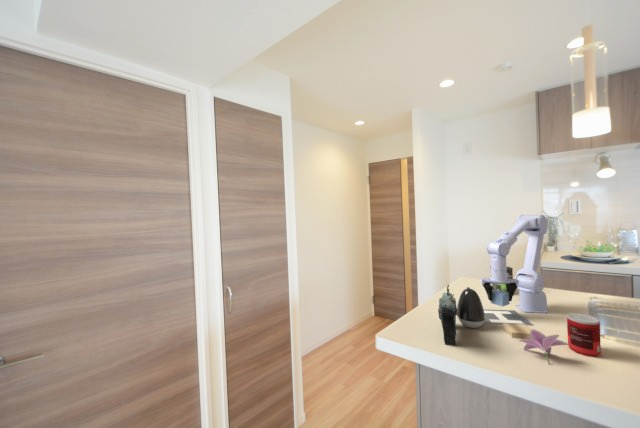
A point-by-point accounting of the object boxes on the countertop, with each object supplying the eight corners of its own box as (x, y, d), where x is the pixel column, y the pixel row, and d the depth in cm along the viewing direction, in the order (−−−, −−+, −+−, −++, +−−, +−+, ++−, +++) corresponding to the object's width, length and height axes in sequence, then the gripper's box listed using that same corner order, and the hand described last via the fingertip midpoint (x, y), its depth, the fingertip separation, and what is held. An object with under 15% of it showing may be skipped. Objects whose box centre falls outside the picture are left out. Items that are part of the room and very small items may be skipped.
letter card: (514, 310, 121) (514, 310, 121) (534, 325, 105) (534, 325, 105) (471, 309, 125) (471, 308, 125) (484, 323, 109) (484, 323, 109)
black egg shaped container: (483, 321, 111) (481, 286, 111) (487, 332, 101) (485, 293, 101) (456, 318, 115) (454, 284, 115) (457, 328, 106) (456, 291, 106)
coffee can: (517, 295, 140) (516, 269, 140) (496, 295, 141) (495, 269, 141) (507, 289, 150) (506, 265, 150) (487, 289, 152) (486, 265, 151)
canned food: (590, 346, 89) (589, 313, 89) (607, 358, 81) (606, 323, 81) (562, 343, 91) (561, 312, 91) (576, 355, 84) (575, 321, 84)
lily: (577, 366, 80) (564, 332, 85) (570, 365, 73) (557, 328, 78) (530, 364, 88) (521, 333, 93) (520, 363, 81) (510, 330, 86)
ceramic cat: (459, 349, 91) (456, 292, 90) (438, 345, 93) (436, 290, 93) (456, 325, 109) (454, 277, 108) (439, 323, 111) (437, 276, 111)
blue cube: (509, 304, 113) (509, 292, 113) (502, 306, 111) (502, 294, 111) (497, 300, 118) (496, 289, 118) (490, 303, 116) (490, 291, 116)
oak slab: (526, 330, 102) (525, 324, 102) (537, 341, 94) (537, 334, 94) (502, 329, 104) (502, 323, 104) (511, 339, 96) (511, 332, 96)
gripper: (512, 267, 117) (513, 297, 117) (476, 267, 120) (478, 296, 120) (521, 271, 110) (522, 303, 110) (483, 271, 113) (484, 302, 113)
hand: (499, 300), depth 115 cm, fingers closed on blue cube, 7 cm apart
